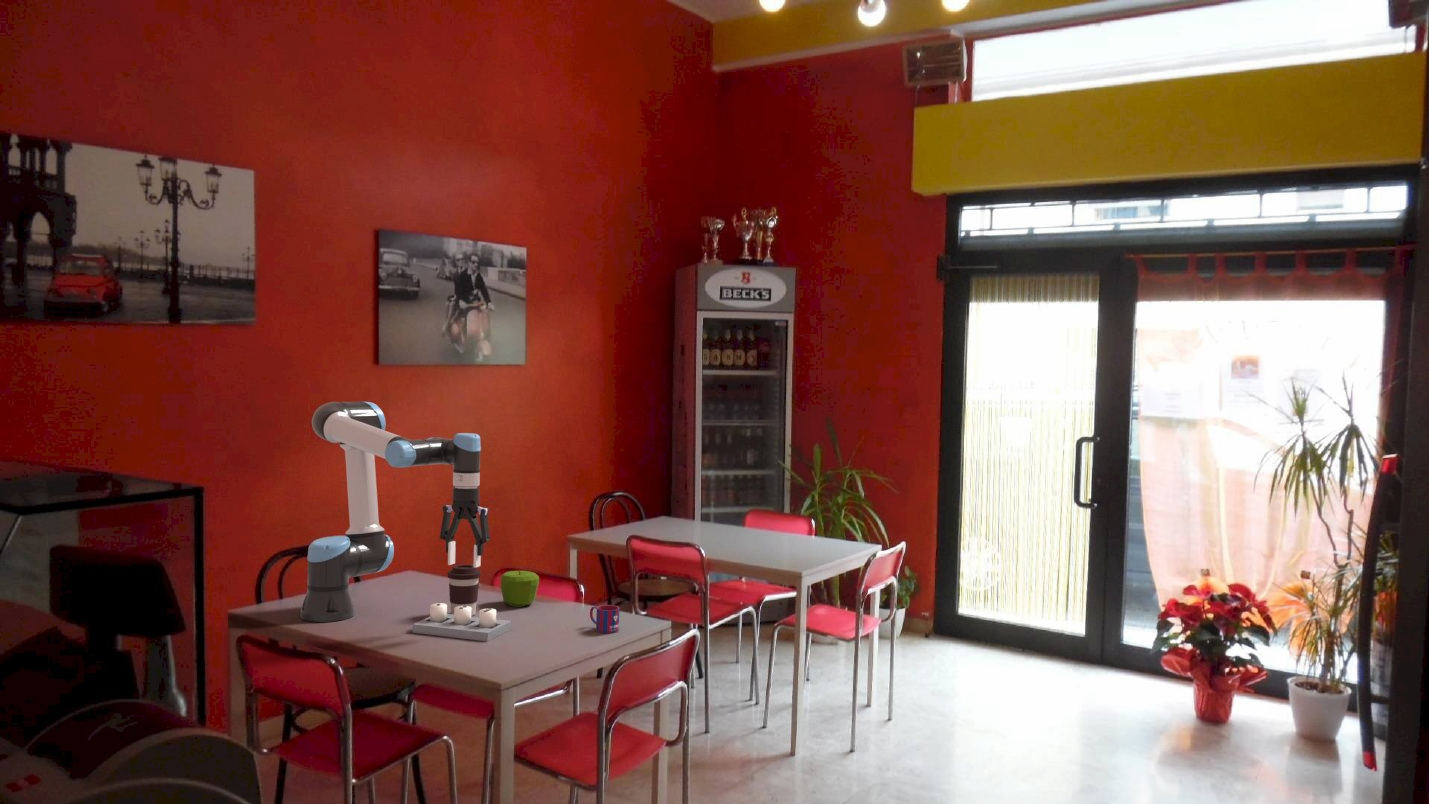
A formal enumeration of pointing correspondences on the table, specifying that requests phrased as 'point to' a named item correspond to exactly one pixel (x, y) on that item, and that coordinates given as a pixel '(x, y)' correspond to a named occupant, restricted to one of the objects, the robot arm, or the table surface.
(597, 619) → the cup
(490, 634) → the console
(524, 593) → the apple
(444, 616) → the button
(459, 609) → the button
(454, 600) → the coffee cup
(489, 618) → the button
